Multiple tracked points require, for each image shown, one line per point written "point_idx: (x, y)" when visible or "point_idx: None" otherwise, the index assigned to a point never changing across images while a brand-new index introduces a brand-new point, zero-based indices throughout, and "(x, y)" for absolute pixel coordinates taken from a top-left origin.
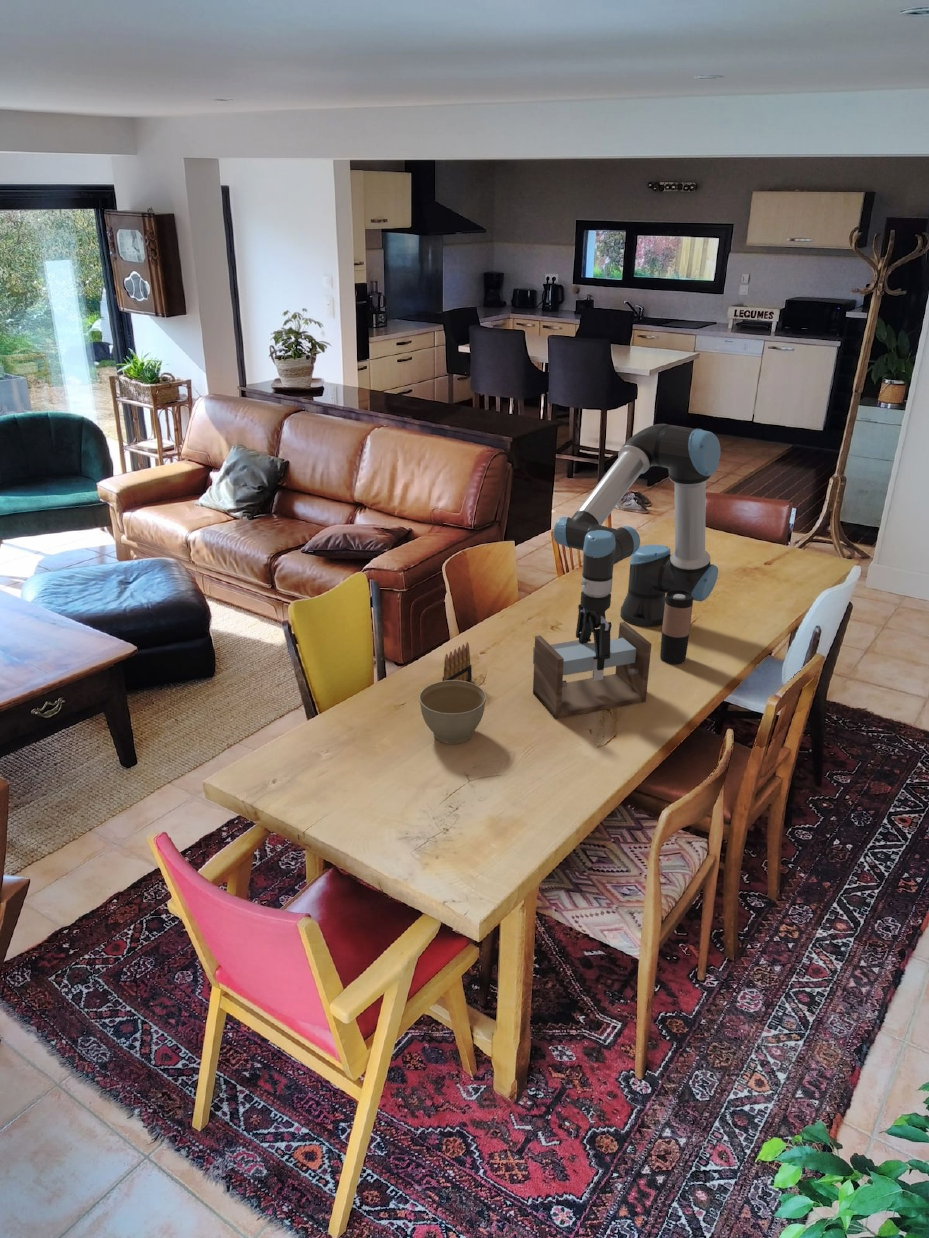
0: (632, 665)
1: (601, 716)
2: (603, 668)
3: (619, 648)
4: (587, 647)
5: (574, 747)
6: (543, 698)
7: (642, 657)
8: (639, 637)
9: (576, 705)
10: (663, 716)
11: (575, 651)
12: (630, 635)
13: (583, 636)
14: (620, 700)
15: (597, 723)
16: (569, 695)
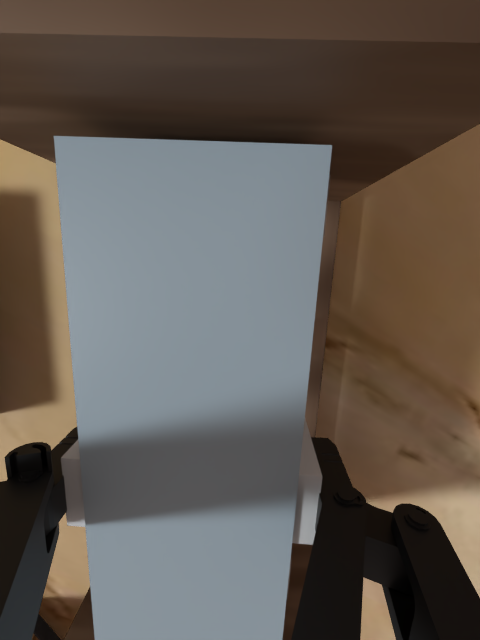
0: None
1: (351, 383)
2: (334, 447)
3: (254, 301)
4: (142, 519)
5: (460, 531)
6: None
7: (402, 139)
8: (335, 4)
9: None
10: (461, 178)
11: (173, 612)
12: (123, 70)
13: (39, 596)
14: (322, 292)
15: (382, 415)
16: None
